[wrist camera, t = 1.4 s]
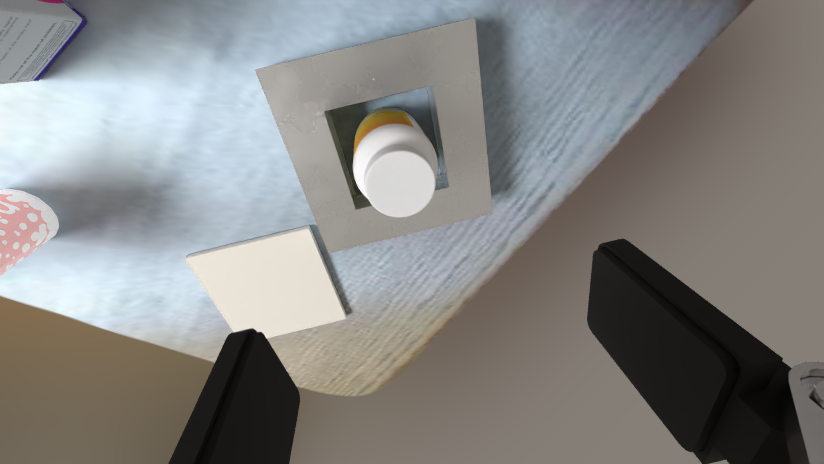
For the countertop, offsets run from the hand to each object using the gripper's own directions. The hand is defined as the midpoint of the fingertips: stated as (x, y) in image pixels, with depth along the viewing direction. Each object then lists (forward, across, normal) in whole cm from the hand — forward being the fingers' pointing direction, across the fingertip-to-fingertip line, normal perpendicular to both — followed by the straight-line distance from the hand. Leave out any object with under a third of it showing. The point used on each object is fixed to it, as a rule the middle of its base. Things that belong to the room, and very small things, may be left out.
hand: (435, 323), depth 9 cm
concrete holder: (+20, 0, 0) cm, 20 cm away
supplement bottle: (+20, 0, 0) cm, 20 cm away
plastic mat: (+20, +14, +11) cm, 27 cm away
